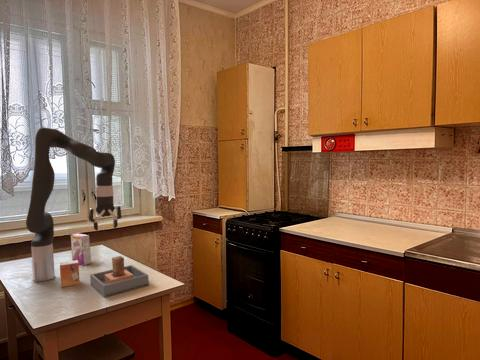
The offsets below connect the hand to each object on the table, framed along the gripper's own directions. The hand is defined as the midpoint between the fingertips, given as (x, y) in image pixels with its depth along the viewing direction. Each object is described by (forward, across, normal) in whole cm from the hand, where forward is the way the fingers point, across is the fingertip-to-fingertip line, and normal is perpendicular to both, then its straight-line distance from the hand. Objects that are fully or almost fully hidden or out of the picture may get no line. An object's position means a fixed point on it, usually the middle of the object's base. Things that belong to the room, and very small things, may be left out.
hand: (105, 228), depth 163 cm
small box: (+26, +14, -9) cm, 31 cm away
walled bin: (+25, -3, +9) cm, 27 cm away
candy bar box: (+27, +2, -41) cm, 49 cm away
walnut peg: (+24, -3, +9) cm, 26 cm away
